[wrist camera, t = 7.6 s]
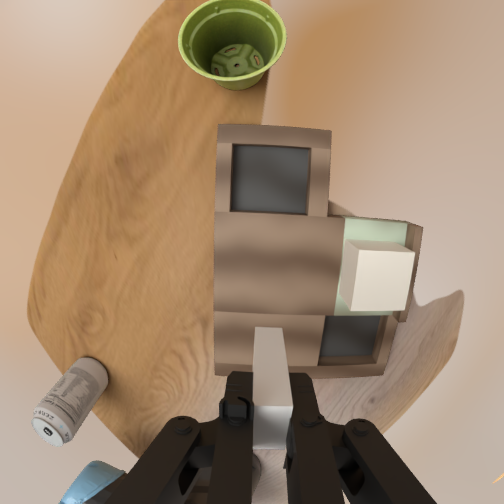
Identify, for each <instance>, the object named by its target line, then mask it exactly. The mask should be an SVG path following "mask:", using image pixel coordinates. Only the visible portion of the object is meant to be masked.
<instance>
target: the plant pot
mask: <svg viewBox="0 0 504 504" xmlns="http://www.w3.org/2000/svg"><path fill="white" fill-rule="evenodd" d="M286 39H287V33H286V29H285V25H284V23H283V21H282V19H281V18H280V16H279V15H278V14H277V12H276V11H275V10H274V9H272V8H271V7H270V6H268V5H267V4H265V3H264V2H262V1H259V0H210V1H208V2H206V3H204V4H202V5H200V6H199V7H198V8H196V9H195V10H194V11H193V12H191V13H190V15H189V16H188V17H187V18H186V20H185V21H184V23H183V24H182V26H181V29H180V32H179V36H178V46H179V51H180V53H181V56H182V58H183V59H184V61H185V62H186V63H187V64H188V65H189V67H190V68H192V69H193V70H194V71H196V72H197V73H199V74H200V75H203V76H205V77H207V78H210V79H213V80H214V81H215V82H216V83H217V84H219V85H220V86H222V87H224V88H227V89H230V90H243V89H247V88H249V87H251V86H253V85H255V84H256V83H257V82H258V81H259V80H260V79H261V78H262V76H263V74H264V72H265V71H266V70H268V69H269V68H270V67H271V66H272V65H274V64H275V63H276V62H277V60H278V59H279V58H280V56H281V54H282V53H283V51H284V48H285V45H286ZM230 48H236V50H232V51H229V52H226V53H225V51H226V50H228V49H230ZM254 55H255V56H257V57H258V59H259V61H260V64H259V65H257V63H256V60H255V58H254ZM235 64H239V67H235ZM215 68H218V73H219V75H220V76H217V75H216V73H215Z"/></svg>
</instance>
